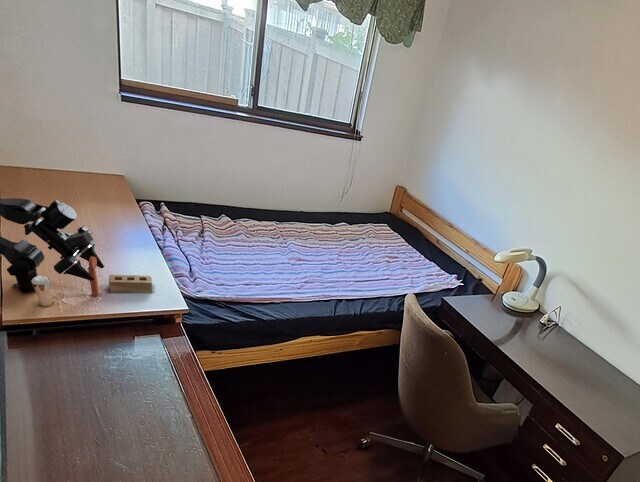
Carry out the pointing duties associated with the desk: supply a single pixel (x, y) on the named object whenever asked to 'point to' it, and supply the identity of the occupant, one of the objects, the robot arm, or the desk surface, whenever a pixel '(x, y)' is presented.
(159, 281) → the desk surface
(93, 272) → the orange piece
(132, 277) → the utensil rack
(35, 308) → the desk surface
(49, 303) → the milkshake
